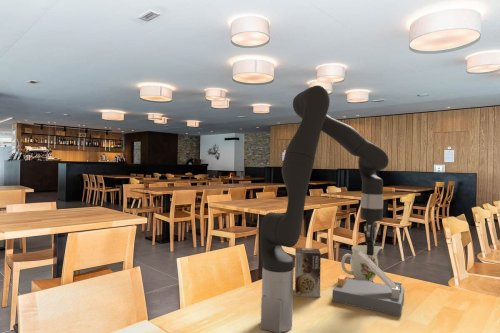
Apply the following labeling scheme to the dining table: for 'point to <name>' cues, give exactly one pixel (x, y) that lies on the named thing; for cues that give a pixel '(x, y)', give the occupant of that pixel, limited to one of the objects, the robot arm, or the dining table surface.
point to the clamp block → (370, 296)
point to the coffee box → (307, 272)
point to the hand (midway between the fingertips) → (370, 254)
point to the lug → (342, 280)
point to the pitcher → (361, 263)
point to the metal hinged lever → (377, 271)
